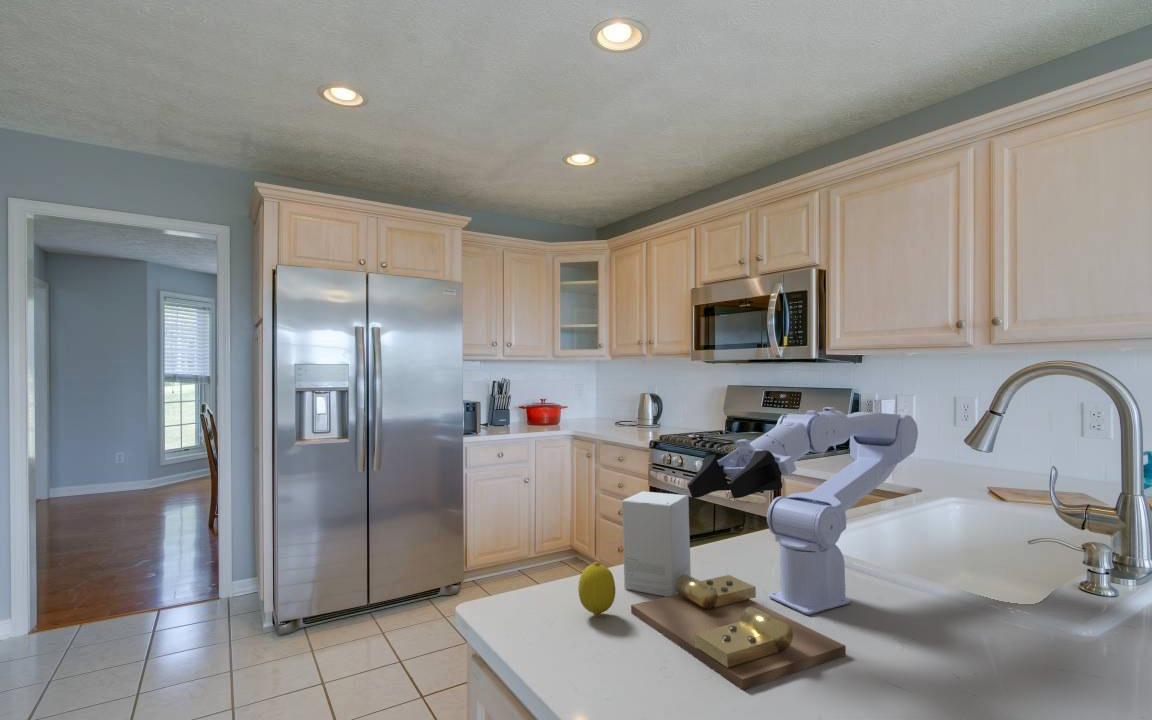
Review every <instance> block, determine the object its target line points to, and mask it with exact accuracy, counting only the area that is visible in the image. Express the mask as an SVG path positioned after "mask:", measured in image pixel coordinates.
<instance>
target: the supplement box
mask: <svg viewBox="0 0 1152 720" xmlns="http://www.w3.org/2000/svg"><path fill="white" fill-rule="evenodd" d="M621 509H622V511H621V512H622V513H621V514H622V541H623V546H622V547H623V574H624V578H623V581H624V583H623V584H624V590H629V591H635V592H639V593H645V594H651V595H656V596H661V597H668V596H672V595H677V594H679V593H678V592H677V590H676V581H677V579H678V578H679V577H680V576H681V575H684V574H687V575H689V576H691V577H692V571H691V543H690V542H691V541H690V540H691V539H690V514H689V513H690V505H689V495H685V494H676V493H665V492H655V491H653V492H652V491H644V490H642V491H640V492H638V493H636V494H634V495H632V496H629V497H627V498H625V499H623V500H621Z"/></svg>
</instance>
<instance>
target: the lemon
mask: <svg viewBox="0 0 1152 720" xmlns="http://www.w3.org/2000/svg"><path fill="white" fill-rule="evenodd" d="M577 587H578V590H577V591H578V597H579V601H580V604H582V606H583V608H584V609H585V610H586V611H588V612H590V613H592V614H593V616H595V617H599V616H600V615H602V613H605V612H606V611H608V610H609V609H610V608H611V607H612V605H613V603H614V601H615V598H616V582H615V579H614V575H613V573H612V571H611V570H610V569H609V568H608V567H607V566H606V565H603V564H602V563H600V562H598V561H593V563H591V564H589V565H587V566H586V568H584V569H583V571H582V572H581V574H580V577H579V581H578V586H577Z"/></svg>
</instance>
